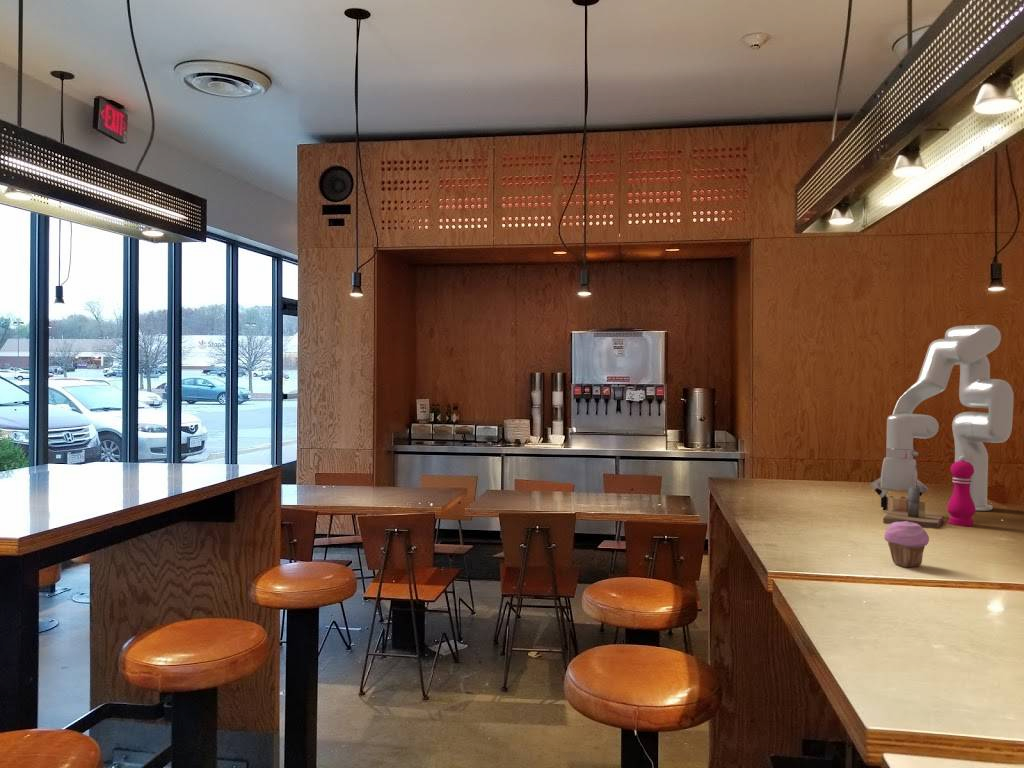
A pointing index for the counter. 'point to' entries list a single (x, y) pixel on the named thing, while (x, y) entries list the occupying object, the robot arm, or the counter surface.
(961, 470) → the pepper mill
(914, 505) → the keyed shaft block
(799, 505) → the counter surface
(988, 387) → the robot arm
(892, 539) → the cupcake
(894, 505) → the pale wooden collar
